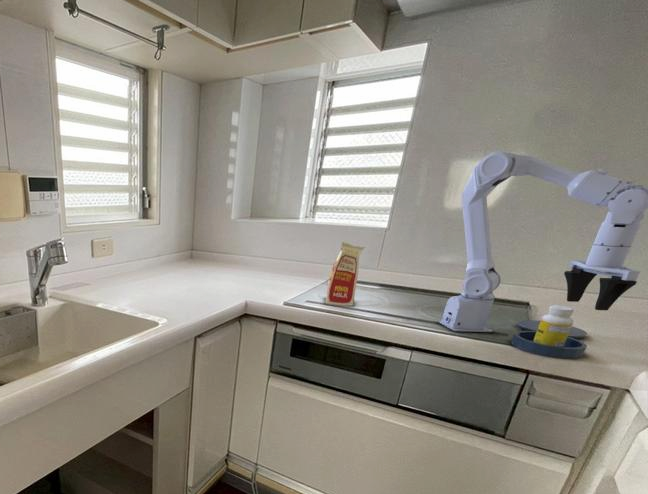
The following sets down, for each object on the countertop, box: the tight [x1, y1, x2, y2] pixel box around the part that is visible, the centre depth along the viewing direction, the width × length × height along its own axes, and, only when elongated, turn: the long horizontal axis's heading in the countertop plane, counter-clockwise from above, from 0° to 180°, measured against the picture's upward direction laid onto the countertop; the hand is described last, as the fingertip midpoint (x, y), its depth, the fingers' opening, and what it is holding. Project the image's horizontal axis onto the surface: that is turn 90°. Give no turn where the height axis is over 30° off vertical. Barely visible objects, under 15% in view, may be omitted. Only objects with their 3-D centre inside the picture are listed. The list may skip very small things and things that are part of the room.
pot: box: [511, 330, 588, 360], centre depth 96 cm, size 13×13×2 cm
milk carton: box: [325, 241, 366, 306], centre depth 134 cm, size 9×9×20 cm
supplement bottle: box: [533, 304, 575, 347], centre depth 95 cm, size 5×5×10 cm
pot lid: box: [517, 319, 588, 339], centre depth 107 cm, size 14×14×5 cm
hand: (586, 305), depth 93 cm, fingers open, 7 cm apart
